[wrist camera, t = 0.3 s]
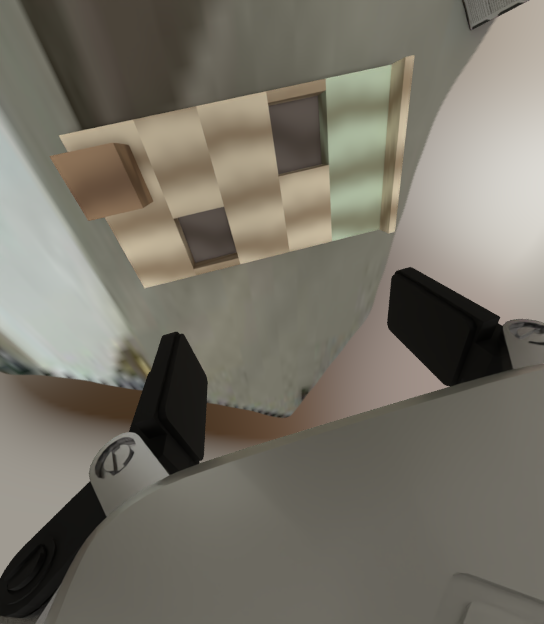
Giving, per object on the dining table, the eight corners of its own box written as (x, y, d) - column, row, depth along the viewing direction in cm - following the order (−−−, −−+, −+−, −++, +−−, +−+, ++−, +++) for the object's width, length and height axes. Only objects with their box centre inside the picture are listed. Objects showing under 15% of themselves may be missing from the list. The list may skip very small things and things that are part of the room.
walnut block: (75, 156, 27) (49, 156, 22) (128, 144, 27) (112, 142, 23) (106, 212, 30) (88, 220, 26) (153, 201, 30) (143, 208, 26)
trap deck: (72, 137, 28) (44, 133, 23) (384, 70, 30) (414, 55, 25) (149, 279, 39) (140, 296, 34) (375, 223, 41) (394, 231, 36)
